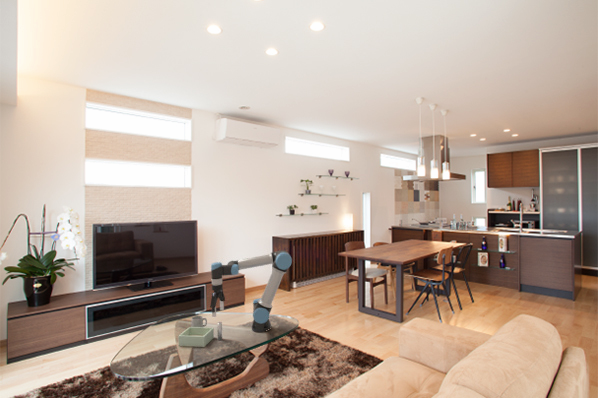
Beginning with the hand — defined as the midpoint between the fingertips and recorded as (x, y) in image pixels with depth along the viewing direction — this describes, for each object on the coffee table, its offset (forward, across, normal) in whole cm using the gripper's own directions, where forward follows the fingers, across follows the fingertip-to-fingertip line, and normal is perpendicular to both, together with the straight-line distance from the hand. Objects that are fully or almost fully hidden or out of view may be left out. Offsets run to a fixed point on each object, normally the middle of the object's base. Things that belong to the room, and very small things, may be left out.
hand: (218, 313), depth 242 cm
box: (+19, +6, -15) cm, 24 cm away
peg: (+19, 0, +1) cm, 19 cm away
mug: (+19, -12, -21) cm, 31 cm away
